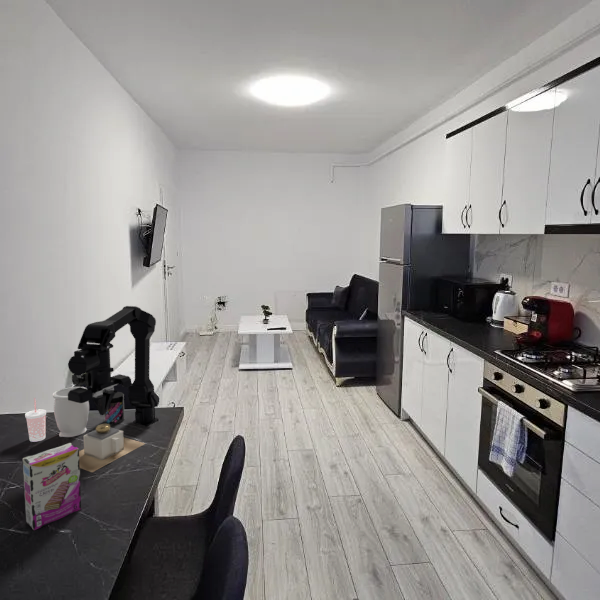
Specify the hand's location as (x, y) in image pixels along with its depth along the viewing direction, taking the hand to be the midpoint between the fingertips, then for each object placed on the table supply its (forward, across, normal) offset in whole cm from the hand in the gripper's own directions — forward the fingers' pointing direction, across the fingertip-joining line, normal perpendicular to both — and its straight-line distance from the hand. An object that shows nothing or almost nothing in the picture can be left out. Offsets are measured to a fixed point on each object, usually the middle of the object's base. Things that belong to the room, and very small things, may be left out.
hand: (102, 414), depth 138 cm
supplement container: (+13, -18, -16) cm, 27 cm away
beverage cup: (+13, +3, -28) cm, 31 cm away
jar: (+13, -5, -21) cm, 25 cm away
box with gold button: (+12, 0, 0) cm, 12 cm away
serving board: (+13, 0, 0) cm, 13 cm away
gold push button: (+11, 0, 0) cm, 11 cm away
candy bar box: (+13, +27, +15) cm, 34 cm away
